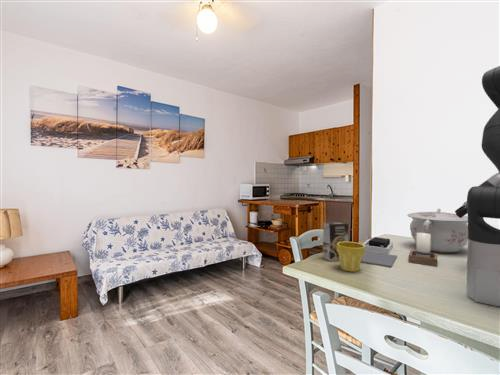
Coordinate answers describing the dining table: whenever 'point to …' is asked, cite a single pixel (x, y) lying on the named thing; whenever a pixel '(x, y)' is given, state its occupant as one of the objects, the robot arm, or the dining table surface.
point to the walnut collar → (423, 259)
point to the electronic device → (379, 242)
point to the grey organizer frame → (378, 248)
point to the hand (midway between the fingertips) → (457, 214)
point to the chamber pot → (441, 230)
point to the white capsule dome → (423, 245)
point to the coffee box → (333, 239)
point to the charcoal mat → (378, 259)
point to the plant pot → (350, 255)
